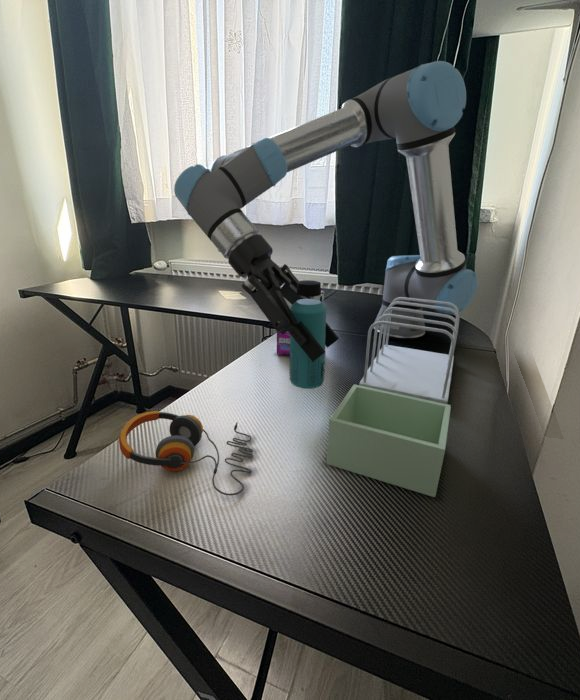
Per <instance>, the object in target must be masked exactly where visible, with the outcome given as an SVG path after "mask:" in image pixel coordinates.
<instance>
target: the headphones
mask: <svg viewBox="0 0 580 700" xmlns="http://www.w3.org/2000/svg"><path fill="white" fill-rule="evenodd" d="M159 419H162V420H163V419H165V420H169V421H171V422H170V424H169V434H170V435H169V436H166V437H165V438H163V439H161V440H160V441H159V442H158V444H157V445H156V449H155V457H153V456H146V455H142V454H139V453H137V452H135V451H134V449H133V447H132V446H131V445H129V442H128V441H127V438H128V435H129V434H130V433H131V432H132V431H133V430H134V429H135V428H136V427H138V426H140V425H141V424H144V423H147V422H153V421H157V420H159ZM238 424H239V422H238V421H237V422H236V423H235V425H234V428H233V431H234V432H235V433H236V434H238V435H243V436H246V437H248V438H249V439H248V440H246V439H241V438H237V437H233V438H232V441H231V440H227V441H226V445H228V446H231V447H234V448H237V449H238V450H237V451H238V452H240V453H242V454H240V453H237V452H231V453H230V455H231V457H234V458H231V457H226V458H225V459H224V462H225V464H227V465H229V466H231V467H236V468H239V469H232V470H231V471H230V472H229V473H230V476H231V478H232V479H234V480H235V481H236V482H237V483H238V484H240V485H241V489H240V490H239V491H237V492H233V493H232V492H231V493H228V492H227V493H226V492H224V491H222V490H220V489H218V487H217V486H216V483H215V476H216V475H217V473H218V468H219V463H220V453H219V449H218V447H217V445H216V444H215V442H214V441H213V440H211V438H210V437H209V434H208V433H207V431H206V430H205V429H204V426H203V424H202V422H201V420H200V419H199V418H198V417H196V416H195V415H192V414H185V415H184V414H183V415H178V414H174V413H171V412H163V411H158V410H151V411H145V412H142V413H140V414H137V415H135V416H133V417H131V419H129V420H128V421H127V422H126V423H125V424H124V426H123V427H122V428H121V431H120V434H119V438H118V444H119V445H118V446H119V450H120V453H122V455H123V456H124V457H125V458H126V459H127V460H132V461H134V462H135V463H136V462H137V463H139V464H143V465H149V466H157V467H161V468H162V469H164V470H166V471H167V472H180V471H182V470H184V469H186V468H187V467H188V466H189V465H190V464H195V463H198V462H200V461H202V460H204V459H206V458H210V459H212V461H213V462H214V469H213V472H212V473H213V474H212V479H211V480H212V481H211V482H212V487H213V488H214V490H216V491H217V492H218V493H220V494H222V495H224V496H237V495H239V494H240V493H241V492H243V491H244V490H245V485H244V484H243V482H241V481H240V480H239V479H238V478H237V477H235V476H234V475H233V472H239V473H246V474H251V473H252V472H253V470H252V469H250V468H248V467H245V466H241V465H238V464H235V463H231V462H229V461H233V462H237V463H243V462H244V459H243V458H248V459H252V458H253V454H252V453H253V452H254V449H252V448H250V447H246V446H248V443H249V442H251V441H252V437H251V435H249V434H247V433H243V432H240V431H237V428H238ZM203 432H204V434H205V435H206V437H207V440H208V441H209V442H210V443H211V444H212V445H213V447H214V449H215V451H216V455H217V459H216V458H215V457H214V456H213V455H209V454H206V455H204V456H202V457H201V458H199V459H196V460H193V459H194V456H195V447H196V446H197V445H198V444H199V443H200V441H201V440H202V438H203ZM244 454H245V455H244ZM235 458H236V459H235ZM192 460H193V461H192ZM228 460H229V461H228Z"/></svg>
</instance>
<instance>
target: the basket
mask: <svg viewBox="0 0 580 700" xmlns="http://www.w3.org/2000/svg"><path fill="white" fill-rule="evenodd" d="M451 409H452V405H451V404H448V403H447V404H443V403H438V402H434V401H429V400H424V399H420V398H415V397H411V396H406V395H401V394H397V393H392V392H387V391H383V390H378V389H374V388H369V387H364V386H360V385H359V384H355V383H354V384H353V385H352V386H351V388H350V389H349V391H348V392H347V393H346V395H345V396H344V398H343V399H342V401H341V402H340V404H339V405H338V407H337V408H336V409H335V411H334V413H332V415H331V417H330V418H329V419H328V421H329V423H328V432H327V433H328V434H327V448H326V461H325V463H326V465H328V466H331V467H334V468H338V469H341V470H345V471H347V472H351V473H353V474H358V475H361V476H363V477H367V478H371V479H374V480H377V481H380V482H383V483H386V484H390V485H393V486H396V487H400V488H402V489H405V490H409V491H413V492H416V493H419V494H422V495H426V496H428V497H432V498H436V496H437V492H438V487H439V486H438V485H439V481H440V476H441V473H442V467H443V462H444V458H445V453H446V448H447V447H446V446H447V441H448V433H449V432H448V431H449V426H450V424H449V423H450V416H451Z"/></svg>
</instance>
